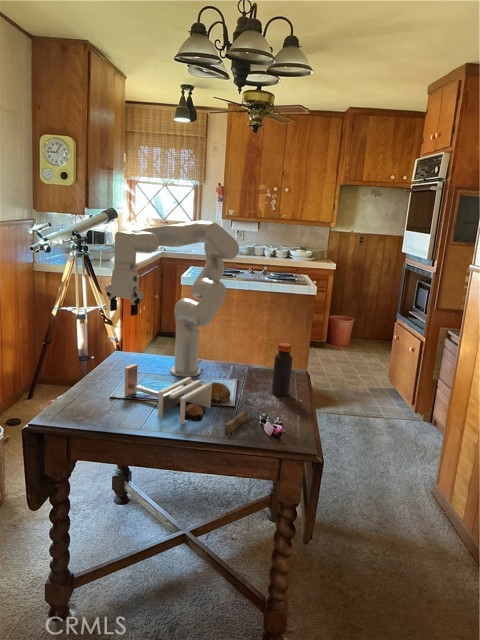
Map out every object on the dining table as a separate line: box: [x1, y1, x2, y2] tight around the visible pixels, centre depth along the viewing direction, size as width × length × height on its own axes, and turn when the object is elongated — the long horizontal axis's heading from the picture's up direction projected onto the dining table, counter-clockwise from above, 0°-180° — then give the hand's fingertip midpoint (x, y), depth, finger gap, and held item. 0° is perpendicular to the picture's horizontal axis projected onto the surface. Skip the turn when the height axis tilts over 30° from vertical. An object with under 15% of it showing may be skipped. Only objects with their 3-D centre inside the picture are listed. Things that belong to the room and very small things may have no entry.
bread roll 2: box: [211, 382, 231, 405], centre depth 175 cm, size 10×10×8 cm
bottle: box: [271, 342, 293, 398], centre depth 183 cm, size 7×7×20 cm
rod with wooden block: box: [124, 363, 186, 413], centre depth 169 cm, size 13×20×11 cm, turn 62°
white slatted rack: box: [157, 377, 213, 425], centre depth 162 cm, size 17×10×9 cm, turn 152°
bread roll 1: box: [179, 403, 206, 422], centre depth 162 cm, size 11×8×4 cm
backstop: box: [223, 410, 248, 435], centre depth 155 cm, size 13×1×3 cm, turn 152°
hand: (123, 312), depth 174 cm, fingers open, 9 cm apart
